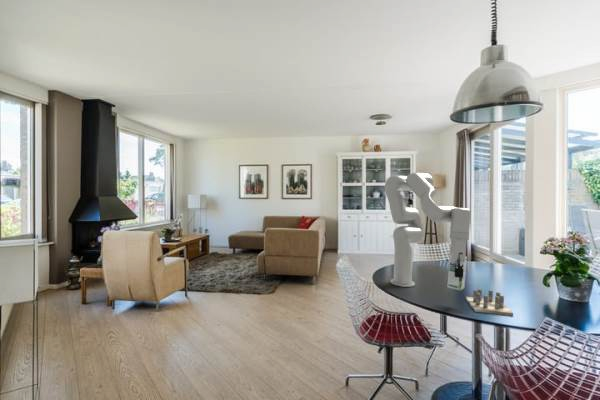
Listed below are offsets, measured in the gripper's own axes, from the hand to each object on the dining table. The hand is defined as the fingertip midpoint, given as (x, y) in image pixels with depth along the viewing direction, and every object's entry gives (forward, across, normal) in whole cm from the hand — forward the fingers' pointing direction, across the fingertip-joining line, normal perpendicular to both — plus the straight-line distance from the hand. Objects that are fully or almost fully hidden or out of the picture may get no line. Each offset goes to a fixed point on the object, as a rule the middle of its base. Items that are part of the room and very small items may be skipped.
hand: (456, 274), depth 136 cm
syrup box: (+6, 0, 0) cm, 6 cm away
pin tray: (+14, -2, +14) cm, 19 cm away
